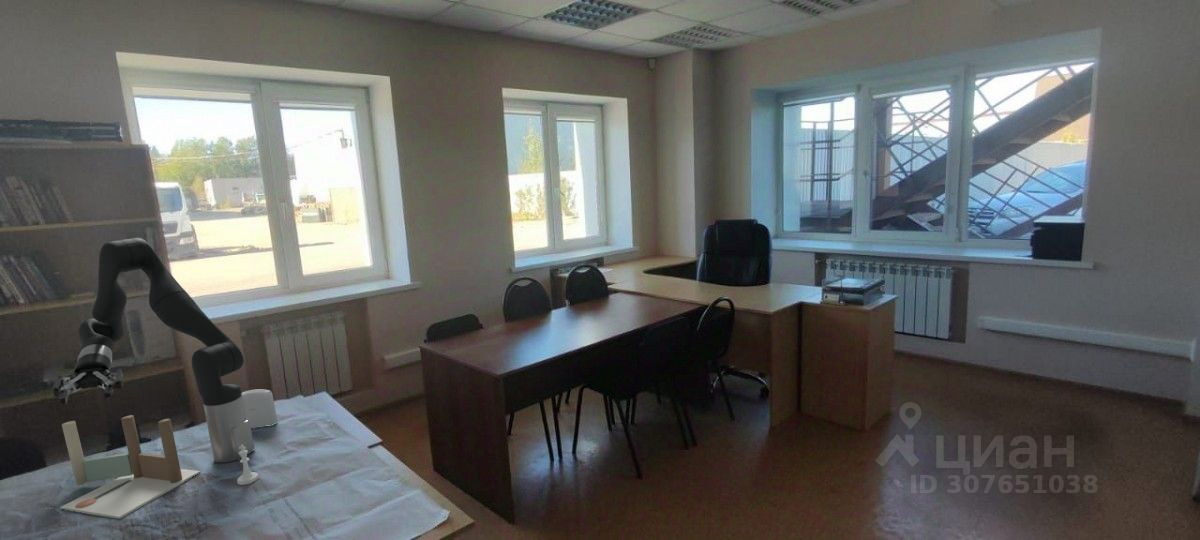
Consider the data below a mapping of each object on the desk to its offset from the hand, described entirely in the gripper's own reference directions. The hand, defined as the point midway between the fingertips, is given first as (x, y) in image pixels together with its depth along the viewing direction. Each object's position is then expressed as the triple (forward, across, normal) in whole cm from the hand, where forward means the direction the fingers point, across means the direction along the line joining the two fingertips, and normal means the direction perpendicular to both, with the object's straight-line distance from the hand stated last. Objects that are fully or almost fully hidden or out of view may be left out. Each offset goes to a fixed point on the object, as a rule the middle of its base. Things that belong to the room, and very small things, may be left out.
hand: (85, 399), depth 150 cm
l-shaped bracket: (+13, +4, +17) cm, 22 cm away
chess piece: (+34, +36, +6) cm, 50 cm away
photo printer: (0, +40, +20) cm, 45 cm away
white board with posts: (+23, +11, +14) cm, 29 cm away
